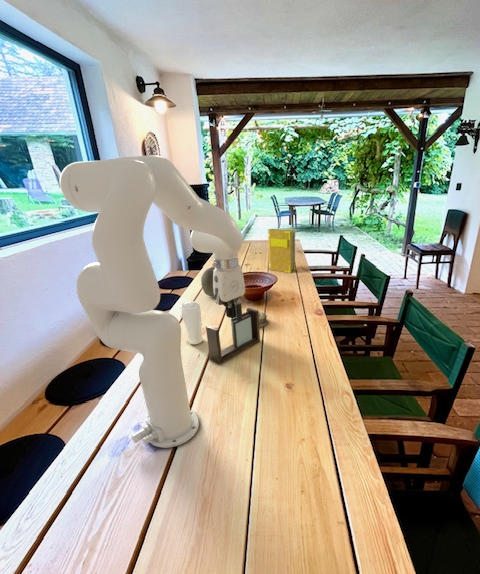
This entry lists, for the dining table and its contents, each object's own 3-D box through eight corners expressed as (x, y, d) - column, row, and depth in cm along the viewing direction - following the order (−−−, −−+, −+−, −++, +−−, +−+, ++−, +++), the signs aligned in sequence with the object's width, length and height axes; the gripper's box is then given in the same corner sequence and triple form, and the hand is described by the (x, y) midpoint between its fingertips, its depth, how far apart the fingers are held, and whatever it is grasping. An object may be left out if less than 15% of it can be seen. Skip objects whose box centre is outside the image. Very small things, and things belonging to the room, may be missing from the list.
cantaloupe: (218, 302, 158) (215, 273, 152) (197, 298, 165) (193, 269, 159) (235, 293, 169) (233, 265, 163) (215, 290, 176) (212, 263, 170)
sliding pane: (237, 349, 112) (233, 306, 106) (233, 348, 113) (229, 305, 107) (253, 340, 118) (251, 299, 111) (249, 339, 119) (247, 298, 112)
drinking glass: (200, 346, 118) (195, 308, 112) (183, 345, 119) (177, 308, 113) (207, 338, 124) (202, 301, 118) (190, 336, 125) (185, 301, 119)
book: (295, 270, 205) (295, 229, 195) (290, 272, 200) (290, 231, 190) (272, 267, 214) (271, 228, 203) (267, 269, 209) (265, 230, 198)
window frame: (219, 364, 106) (215, 330, 101) (209, 359, 109) (205, 326, 104) (260, 341, 120) (258, 310, 115) (250, 337, 123) (248, 307, 118)
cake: (271, 321, 137) (272, 309, 135) (260, 331, 129) (260, 319, 127) (251, 315, 141) (251, 304, 138) (239, 325, 133) (239, 313, 131)
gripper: (216, 270, 93) (222, 327, 100) (251, 259, 103) (254, 312, 110) (199, 266, 97) (206, 321, 105) (235, 256, 107) (239, 307, 115)
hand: (231, 316), depth 108 cm, fingers closed
